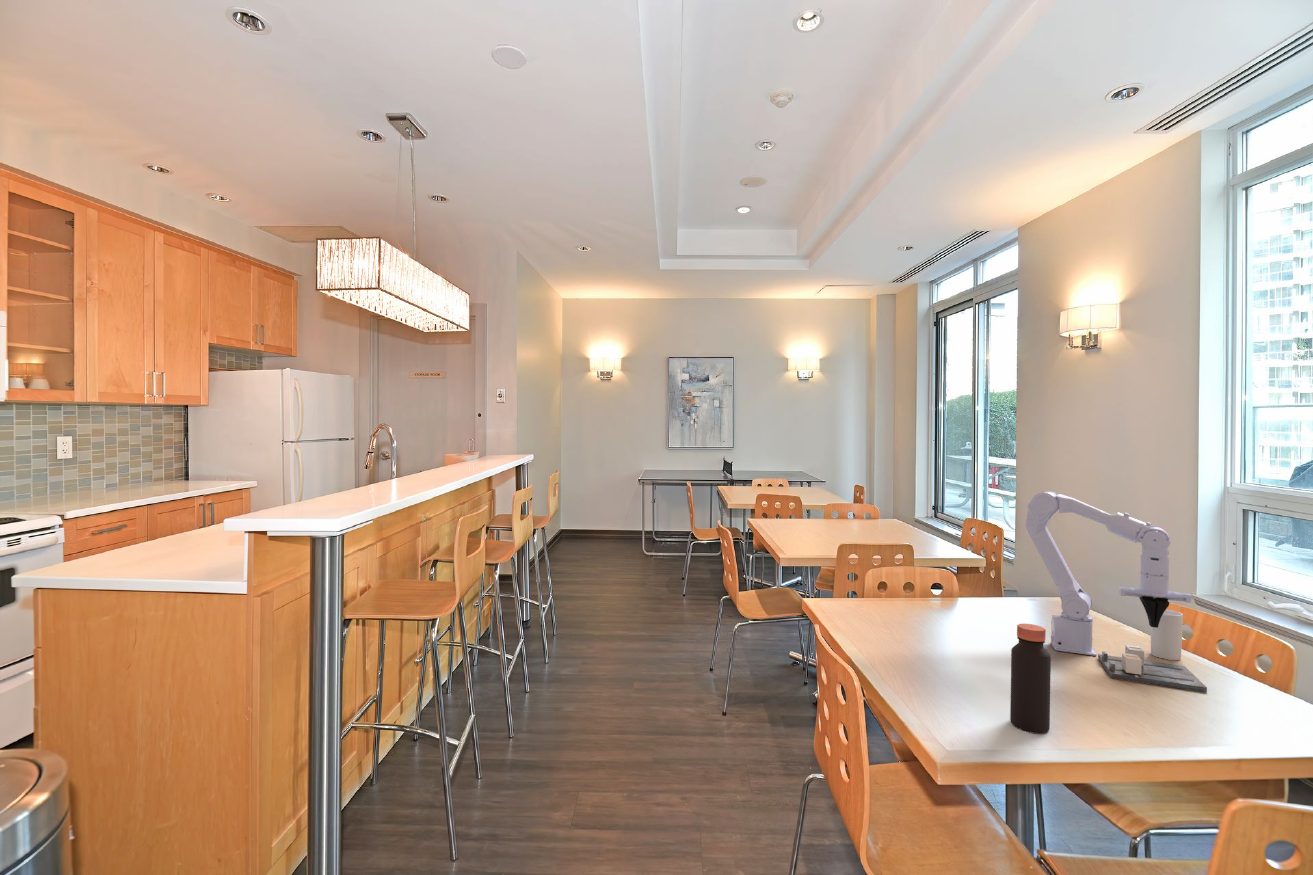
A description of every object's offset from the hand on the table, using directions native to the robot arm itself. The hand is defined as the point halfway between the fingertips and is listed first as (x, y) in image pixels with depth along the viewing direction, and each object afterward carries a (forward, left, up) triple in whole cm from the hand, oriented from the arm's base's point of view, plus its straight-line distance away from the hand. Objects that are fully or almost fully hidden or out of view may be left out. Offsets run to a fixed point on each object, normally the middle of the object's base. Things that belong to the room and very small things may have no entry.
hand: (1153, 626), depth 159 cm
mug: (+5, +11, -10) cm, 16 cm away
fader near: (-7, -13, -8) cm, 17 cm away
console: (-3, -9, -10) cm, 14 cm away
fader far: (-5, -5, -8) cm, 11 cm away
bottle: (-33, -55, -10) cm, 65 cm away
